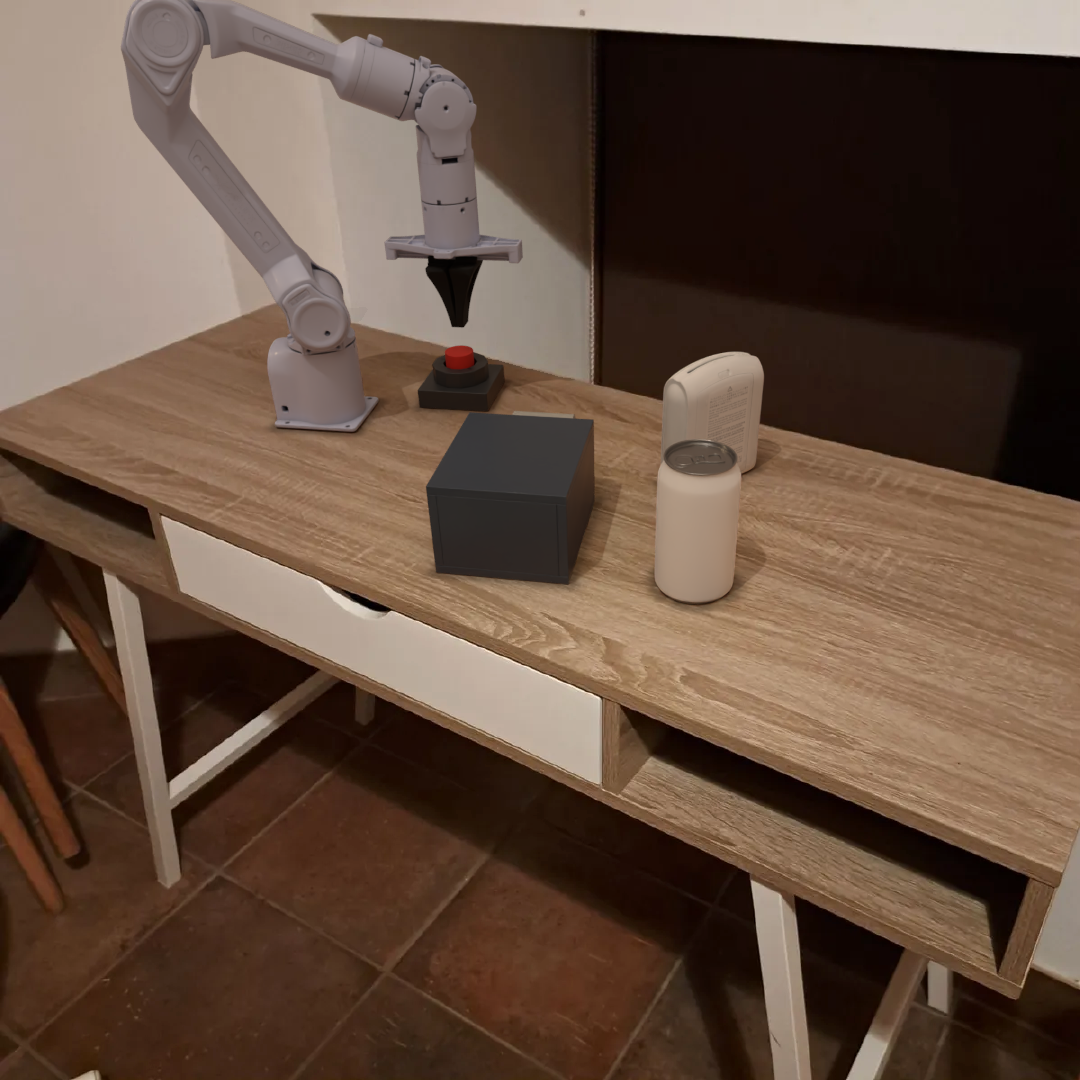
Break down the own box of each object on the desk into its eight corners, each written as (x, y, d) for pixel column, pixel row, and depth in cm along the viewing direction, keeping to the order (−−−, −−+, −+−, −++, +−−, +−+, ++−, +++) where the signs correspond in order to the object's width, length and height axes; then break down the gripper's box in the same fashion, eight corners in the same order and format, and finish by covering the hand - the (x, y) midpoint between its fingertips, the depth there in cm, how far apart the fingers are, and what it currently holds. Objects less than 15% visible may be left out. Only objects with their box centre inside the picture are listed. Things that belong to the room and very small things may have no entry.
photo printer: (732, 452, 102) (741, 336, 96) (762, 468, 99) (773, 350, 92) (652, 483, 98) (655, 364, 91) (681, 501, 95) (687, 380, 88)
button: (442, 370, 113) (441, 355, 112) (450, 359, 116) (449, 344, 115) (470, 371, 113) (469, 357, 112) (477, 360, 115) (476, 345, 114)
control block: (419, 407, 114) (415, 375, 112) (439, 378, 120) (436, 346, 118) (488, 411, 112) (485, 378, 110) (504, 381, 119) (502, 349, 117)
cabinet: (476, 492, 98) (469, 412, 93) (594, 501, 95) (593, 419, 91) (435, 572, 87) (425, 486, 82) (568, 584, 84) (566, 496, 80)
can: (648, 564, 86) (651, 439, 80) (722, 558, 87) (731, 433, 80) (662, 609, 81) (666, 480, 74) (741, 603, 81) (753, 473, 75)
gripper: (368, 207, 102) (385, 335, 109) (508, 210, 99) (515, 340, 106) (391, 189, 108) (405, 311, 115) (524, 190, 105) (530, 316, 112)
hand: (460, 324), depth 111 cm, fingers closed
